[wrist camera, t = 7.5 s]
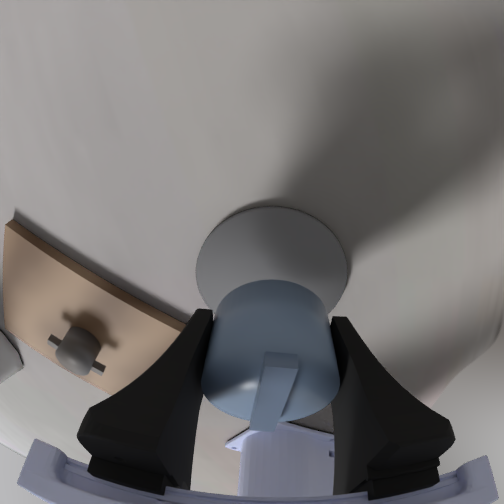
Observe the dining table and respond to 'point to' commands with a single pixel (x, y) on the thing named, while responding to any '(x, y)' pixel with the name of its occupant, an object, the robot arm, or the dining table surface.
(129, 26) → the dining table surface
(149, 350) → the post base
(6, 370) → the flask
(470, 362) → the dining table surface
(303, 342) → the cap
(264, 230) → the coaster
